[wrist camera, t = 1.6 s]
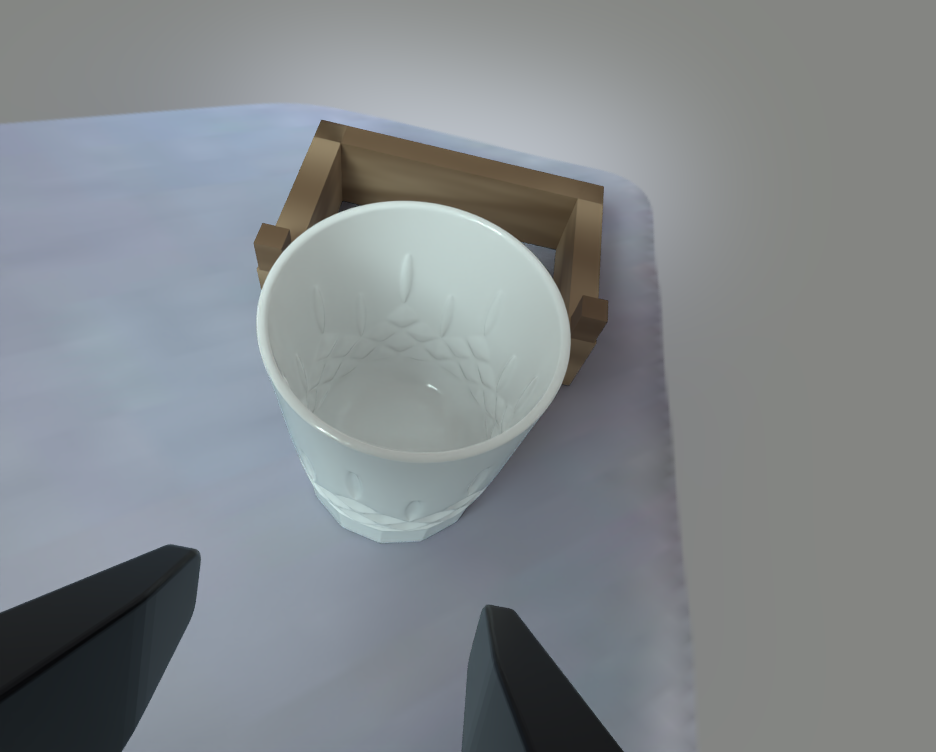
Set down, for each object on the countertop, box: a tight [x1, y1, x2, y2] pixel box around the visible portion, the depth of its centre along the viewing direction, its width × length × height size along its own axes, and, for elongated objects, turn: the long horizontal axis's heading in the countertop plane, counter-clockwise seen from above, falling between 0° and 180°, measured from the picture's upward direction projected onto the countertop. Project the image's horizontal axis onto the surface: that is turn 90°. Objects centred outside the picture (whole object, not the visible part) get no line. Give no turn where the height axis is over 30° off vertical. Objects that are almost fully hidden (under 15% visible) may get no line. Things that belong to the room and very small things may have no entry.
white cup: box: [256, 201, 571, 543], centre depth 19 cm, size 8×8×10 cm
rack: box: [254, 120, 608, 386], centre depth 26 cm, size 9×13×5 cm
